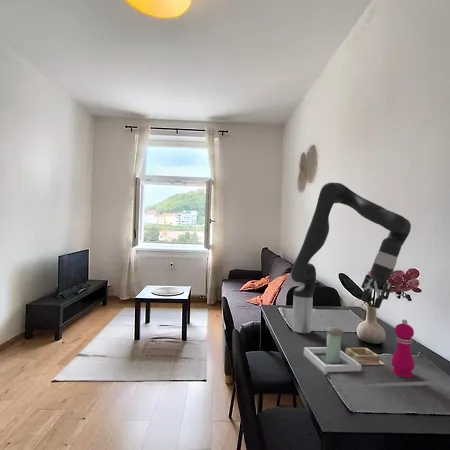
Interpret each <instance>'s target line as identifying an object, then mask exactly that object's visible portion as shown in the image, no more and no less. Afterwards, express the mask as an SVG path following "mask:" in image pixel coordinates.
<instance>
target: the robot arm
mask: <svg viewBox="0 0 450 450" xmlns="http://www.w3.org/2000/svg"><path fill="white" fill-rule="evenodd" d="M335 204H342V205H345V206H348V207H350V208H352V209H353V210H354V211H355V212H357V213H358V214H359V215H360V216H361V217H363V218H365V219H366V220H368V221H370V222H371V223H374V224H377V225H379V226H380V227H382V228H384V229H385V230H388V231H389V233H388V236H386V238H384V239H382V242H381V244H380V247H379V250H378V252H377V254H376V256H375V258H374V261H373V264H372V267H371V268H370V274H366V275H365V276H364V279H363V282H362V284H361V288H362V289H363V292H362V295H361V298H360V299H361V301H364V302H368V298H369V296H370V293H371V292H372V291H373V290H374V291H375V293H376V297H375V300H374V302H373V308H375V309H380V307H381V306H382V303H383V301H384V300H386V301H387V300H388V299H389V296H390V293H391V292H392V287H393V284H391V283H388V281H390V280H391V278H392V276H393V273H394V270H395V268H396V265H397V261H398V257H399V254H400V253H401V249H402V246H403V245H404V244H405V242H406V241H407V238H408V236H409V235H410V232H411V228H412V226H411V225H412V224H411V221H409V219H407V218H405V217H404V216H402V215H400V214H398V213H396V212H393V211H391V210H389V209H387V208H385V207H383V206H381V205H379V204H377V203H374V202H373V201H370V200H368V199H366V198H365V197H362V196H360V195H359V194H357V193H356V192H354V191H353V190H351V189H350V188H349V187H348V186H346V185H345V184H343V183H341V182H326V183H325V184H323V186H322V187H321V189H320V191H319V194H318V198H317V203H316V207H315V210H314V213H313V215H312V217H311V222H310V224H309V226H308V229H307V231H306V234H305V236H304V240H303V243H302V245H301V248H300V250H299V252H298V255H297V257H296V259H294V262H293V264H292V267H291V270H290V276H291V277H290V278H291V279H292V281H293V282H295V283H300V285H298V287H296V288H294V290H293V300H292V301H293V302H292V303H293V304H292V321H291V322H292V324H291V330H292V331H293V332H295V333H299V334H310V333H312V325H313V324H312V323H313V321H312V320H313V319H312V318H313V299H314V298H313V297H314V292H315V289H316V288H315V287H316V281H317V280H316V279H317V272H316V267H315V266H314V264H313V263H310V261H311V259H312V258H313V257H314V255H316V254H317V253H318V252H319V251H320V250H321V249H322V247H324V245H325V243H326V240H327V238H328V236H329V232H330V222H329V220H330V219H329V217H330V213H331V211H332V208H333V206H334V205H335Z"/></svg>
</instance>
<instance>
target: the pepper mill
mask: <svg viewBox="0 0 450 450" xmlns="http://www.w3.org/2000/svg"><path fill="white" fill-rule="evenodd" d="M394 333H395V335H396V336H395V341H396V349H395V352H393V353H394V354H393V355H392V357H391V363H390V364H391V366H392V367H393V368H392V373H393V374H394V375H396V376H397V377H402V378H412V377H413V372H412V371H413V370H414V369H415V362H414V358H413V355H412V353H411V352H412V351H411V344H413V342H412V341H413V340H412V338H413V337H414V335H415V331H414V328H413V326H411V325H410V324H408V320H406V319H402V320H401V323H399V324H396V325H395V327H394Z"/></svg>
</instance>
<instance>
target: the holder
mask: <svg viewBox="0 0 450 450" xmlns="http://www.w3.org/2000/svg"><path fill="white" fill-rule="evenodd" d="M344 353H345V354H347V355H348V356H349V357H351V358H352V359H354V360H355V361H356V362H358V363H359V364H360V365H361V366H369V365H370V366H373V365H375V366H376V365H377V366H378V365H385V362H383V361H381V360H380V358H381V357H380V355H379V354H377V353H375V352H374V351H372V350H370V349H369V348H367V347H345V348H344Z"/></svg>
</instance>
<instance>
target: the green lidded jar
mask: <svg viewBox="0 0 450 450" xmlns="http://www.w3.org/2000/svg"><path fill="white" fill-rule="evenodd" d="M325 333H326V347H327V348H326V353H325V361H326V362H328V363H330V364H339V363H340V362H341V357H340V350H341V344H342V342H341V341H342V335H343V329H342V328H339V327H335V326H333V327H332V326H327V327H326V328H325Z"/></svg>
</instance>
